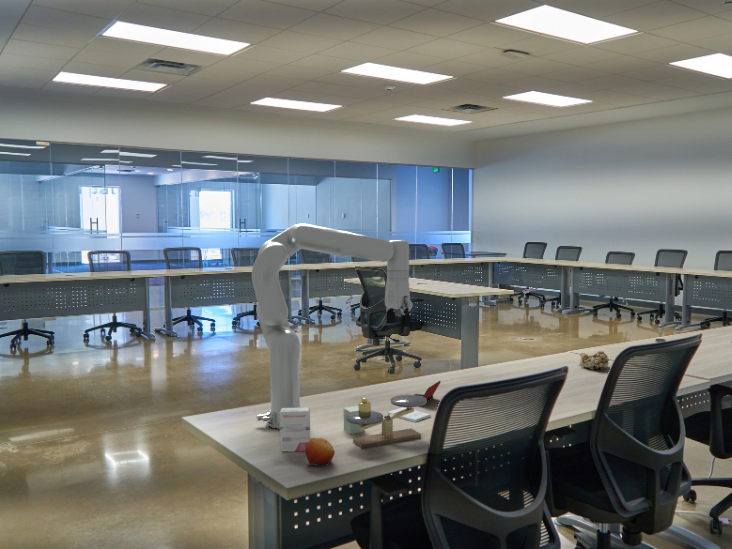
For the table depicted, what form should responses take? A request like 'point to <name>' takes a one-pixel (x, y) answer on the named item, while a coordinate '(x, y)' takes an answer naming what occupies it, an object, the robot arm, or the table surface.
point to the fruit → (319, 452)
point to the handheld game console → (430, 391)
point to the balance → (385, 421)
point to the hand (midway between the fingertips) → (397, 324)
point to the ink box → (294, 428)
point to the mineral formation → (594, 360)
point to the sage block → (349, 426)
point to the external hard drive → (411, 415)
